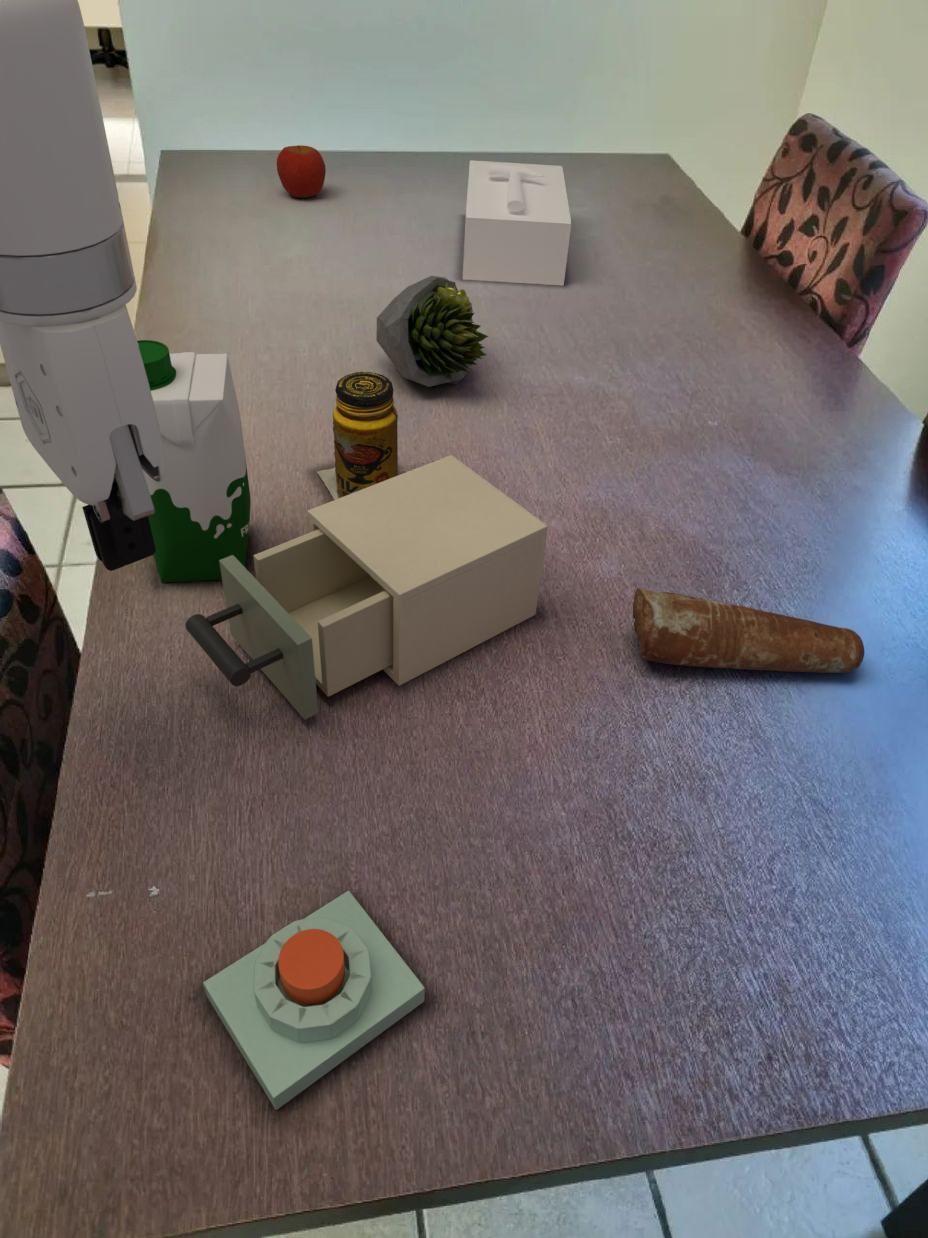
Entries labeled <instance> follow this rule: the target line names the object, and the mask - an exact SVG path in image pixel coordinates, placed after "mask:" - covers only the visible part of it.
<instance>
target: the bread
mask: <svg viewBox="0 0 928 1238" xmlns="http://www.w3.org/2000/svg"><path fill="white" fill-rule="evenodd" d="M632 618H633V619H634V622H633V629H634V631H635V632H636V634H637V637H638V640H639V651H640V652H639V653H640V654H639V655H640V657H641V658H642V659H643V660H646V661H649V662H654V663H658V664H659V663H660V664H666V665H673V666H674V665H675V666H685V667H695V668H696V667H697V668H709V669H710V668H713V669H714V668H715V669H716V668H717V669H736V670H751V671H752V670H755V671H772V672H773V671H774V672H791V673H793V672H794V673H795V672H796V673H817V674H818V673H820V674H821V673H822V674H824V673H826V674H827V673H828V674H829V673H830V674H831V673H832V674H835V673H836V674H837V673H838V674H839V673H840V674H848V673H852V672H854V671H855V670H856V671H857V669H859V668H860V666H861V665H862V663H863V661H864V658H865V645H864V642H863V640H862V638H861V636H860V635H859V634H858V633H857V632H856V631H854V630H853V629H851V628H847V627H839V626H836V625H835V626H834V625H831V624H827V623H826V624H825V623H821V622H816V621H813V620H809V619H805V618H799V617H794V616H789V615H785V614H779V613H775V612H772V611H765V610H760V609H756V608H753V607H748V606H743V605H737V604H732V603H726V602H722V601H718V600H712V599H708V598H701V597H696V596H691V595H685V594H681V593H675V592H668V591H657V590H651V589H647V588H640V587H639V588H636V590H635V593H634V597H633V602H632Z"/></svg>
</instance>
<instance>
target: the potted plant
mask: <svg viewBox="0 0 928 1238" xmlns="http://www.w3.org/2000/svg"><path fill="white" fill-rule="evenodd" d="M472 305H473V304H472V302H471V301H470V298H469V296H468V295H467V291H466V290H465V289H463V288H461V289H460V290H459V289H458V288H457V283H456V282H455V281H452V280H449V279H448V278H447V277H445V276H439V275H438V276H437V275H429V276H427V277H425V278H423V279H421V280H419V281H416V282H414V283H411V284H410V285H408V286H406V287H405V288H404V289H403V290H402V291H401V292H399V294H397V295H396V296H395V297H394V298H393V299H392V300H391V301H390V302H389V303H388V304H387V306H386V307H385V308H384V309H383V310H382V311H381V312H380V314H379V315H378V316H376V342H377V344H378V345H379V347H380V348H381V349H382V350H383V352H384V353H385V355H386V356H387V357H388V359H389V360H390V361H391V363H392V364H393V365H394V367H395V368H396V369H397V371H398V373H399V374H400V376H401V377H402V378H404V379H406V380H409V381H412V382H414V383H417V384H420V385H422V386H425V387H428V388H430V387H433V386H439V385H442V384H453V385H457V384H458V383H459V382H461V381H462V380H463V379H464V378H465V376H466V374H467V373H470V371H469V370H472V368H471V367H472V366H478V364H477V363H476V362H475V361H478V359H480V360H482V359H483V358H482V357H484V356H485V357H486V356H488V354H487V353H485V352H484V351H483V350H482V349H485V348H486V347H485V346H483V344H482V343H480V342H482V341H484V340H485V339H487V338H489V335H486V334H484V333H482V332H480V331H478V329H480V328H481V325H480V324H476V323H475V322H474V321H473V316H474V314H475V312H473V310H474V309H473V306H472Z"/></svg>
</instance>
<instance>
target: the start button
mask: <svg viewBox="0 0 928 1238" xmlns="http://www.w3.org/2000/svg"><path fill="white" fill-rule="evenodd" d="M278 966H279V972H280V978H281V983H282V986H283V989H284V991H285V992H286V993H287V995H288V996H289V997H290V998H292V999H293V1000H295V1001H297V1002H300V1003H304V1004H316V1003H320V1002H323V1001H325V1000H327V999H329V998H330V997H332V996H333V995H334V994H335V993H336V992H337V991H338V990H339V988H340V986H341V985H342V982H343V980H344V975H345V965H344V953H343V948H342V946H341V944H340V942H339V941H338V939H337V938H336V937H335V936H334V935H332V934H331V933H329V932H327V931H324V930H320V929H308V930H304V931H301V932H298V933H296V934H295V935H293V936H292V937H291V938H289V939H288V940H287V942H286V943H285V944H284V945H283V947H282V949H281V951H280V954H279V958H278Z"/></svg>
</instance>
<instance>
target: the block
mask: <svg viewBox="0 0 928 1238" xmlns="http://www.w3.org/2000/svg"><path fill="white" fill-rule="evenodd" d="M308 929H320V930H324V931H327V932H329V933H331V934H332V935H334V936H335V937H336V938H337V939H338V941H339V942H340V944H341V946H342V948H343V953H344V965H345V975H344V980H343V982H342V985H341V986H340V988H339V990H338V991H337V992H336V993H335V994H334V995H333V996H332V997H330V998H329V999H327V1000H325V1001H323V1002H320V1003H316V1004H304V1003H300V1002H297V1001H295V1000H293V999H292V998H290V997H289V996H288V995H287V993H286V992H285V991H284V989H283V986H282V983H281V978H280V972H279V966H278V958H279V954H280V951H281V949H282V947H283V945H284V944H285V943H286V942H287V940H288V939H289V938H291V937H292V936H293V935H295V934H296V933H298V932H301V931H304V930H308ZM202 985H203V988H204V993H205V995H206V998H207V999H208V1002H210V1004H211V1006H212V1008H213V1009H214V1011H215V1012H216V1014H217V1016H218V1017H219V1019H220V1021H221V1023H222V1024H223V1026H224V1027H225V1029H226V1031H227V1033H228V1034H229V1035H230V1037H231V1040H233V1042H234V1044H235V1045H236V1047H237V1049H238V1050H239V1051H240V1053H241V1056H242V1057H243V1059H244V1060H245V1062H246V1063H247V1066H248V1067H249V1069H250V1070H251V1072H252V1074H253V1075H254V1077H255V1078H256V1080H257V1081H258V1083H259V1085H260V1086H261V1088H262V1090H263V1091H264V1094H265V1095H266V1097H267V1098H268V1099H269V1102H270V1103H271V1105H272V1106H273V1108H274V1110H275V1111H278V1110H279V1109H280V1108H281V1107H283V1106H284V1105H286V1104H287V1103H289V1102H290V1101H291V1100H293V1099H294V1098H295V1097H296V1096H298V1095H299V1094H301V1093H302V1092H304V1090H306V1089H307V1088H309V1087H310V1086H311V1085H313V1084H314V1083H316V1082H317V1081H318V1080H319V1079H321V1078H322V1077H323V1076H325V1075H326V1074H328V1073H329V1072H330V1071H332V1070H333V1069H334V1068H336V1067H337V1066H339V1065H340V1064H341V1063H343V1062H344V1061H345V1060H347V1059H348V1058H349V1057H351V1056H353V1055H354V1054H355V1053H357V1051H359V1050H361V1049H362V1048H363V1047H365V1046H366V1045H367V1044H368V1043H371V1041H373V1040H374V1039H375V1038H377V1037H378V1036H379V1035H381V1034H382V1033H383V1032H384V1031H387V1030H388V1029H389V1028H390V1027H392V1026H393V1025H395V1024H396V1023H397V1022H399V1021H400V1020H401V1019H403V1018H404V1017H405V1016H406V1015H408V1014H409V1013H411V1012H412V1011H414V1010H415V1009H416V1008H417V1007H418V1006H420V1005H422V1004H423V1003H425V996H426V995H425V994H426V993H425V992H426V987H425V986H424V985H423V983H422V982H421V981H420V979H419V978H418V977H417V976H416V975H415V973H414V972H413V971H412V969H411V968H410V967H409V965H408V964H407V963H406V962H405V960H404V958H402V956H401V955H400V954H399V952H397V950H396V949H395V948H394V946H393V945H392V943H390V940H388V938H386V936H385V935H384V934H383V932H382V931H381V929H380V928H379V927H378V926H377V924H375V922H374V920H372V918H371V916H370V915H369V914H368V913H367V912H366V911H365V909H364V908H363V906H362V905H361V904H360V903H359V902H358V900H357V898H355V896H354V895H353V894H352V893H351V891H350V890H347V891H345V892H343V893H342V894H340V895H338V896H337V897H336V898H334V899H333V900H331V901H329V902H328V903H326V904H324V905H323V906H321V907H320V908H319V909H317V910H315V911H313V912H312V913H311V914H309V915H307V916H306V917H303V919H296V920H293V921H292V922H291V923H289V924H287V925H286V926H284V927H283V928H281V929H279V930H278V931H276V932H274V933H273V934H272V935H271V936H270V937H269V938H268V939H267V941H266V942H264V943H263V944H261V945H260V946H259V947H256V948H255V949H253V950H252V951H251V952H249V953H247V954H246V955H243V956H242V957H240V958H239V959H238V960H236V961H234V962H233V963H232V964H230V965H228V966H227V967H225V968H223V969H222V970H220V971H218V972H217V973H215V974H214V975H213V976H211V977H209V978H208V979H206V980H204V981H203V982H202Z"/></svg>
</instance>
